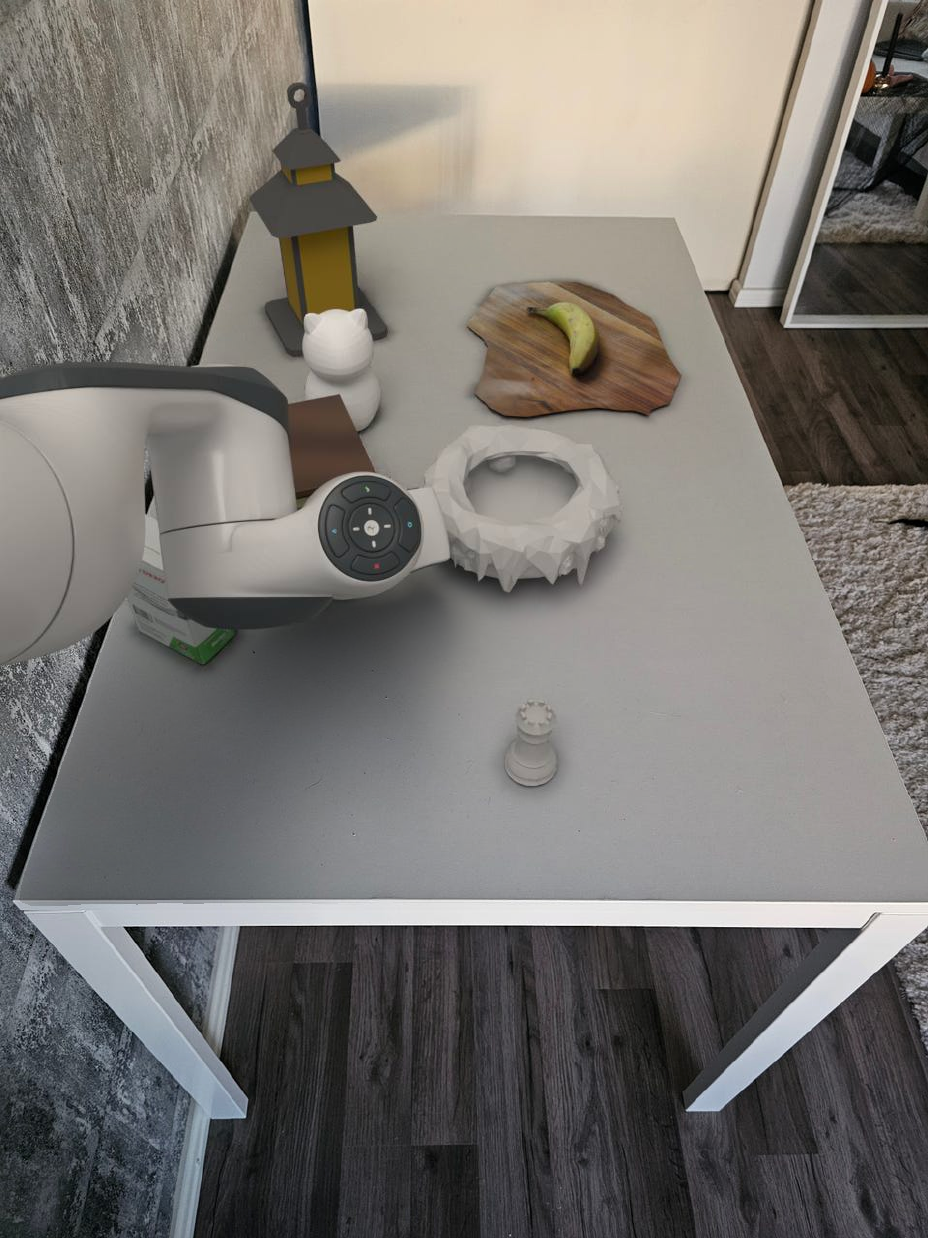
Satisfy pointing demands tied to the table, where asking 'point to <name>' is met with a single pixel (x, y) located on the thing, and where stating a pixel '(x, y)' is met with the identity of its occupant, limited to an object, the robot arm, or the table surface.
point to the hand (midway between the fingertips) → (327, 555)
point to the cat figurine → (342, 362)
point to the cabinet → (323, 443)
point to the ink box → (168, 608)
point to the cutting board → (569, 351)
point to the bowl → (523, 502)
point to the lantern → (312, 231)
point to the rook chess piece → (532, 745)
